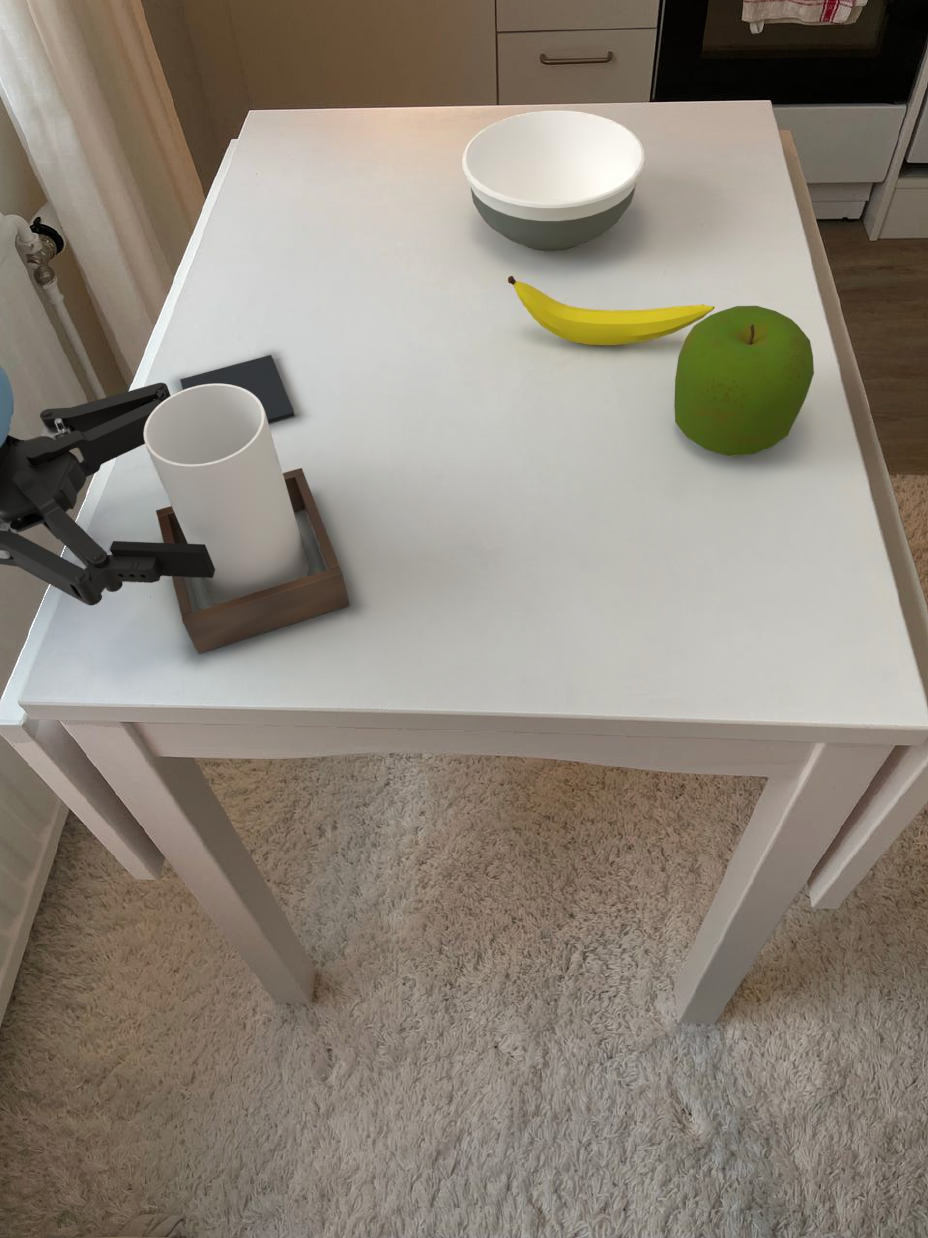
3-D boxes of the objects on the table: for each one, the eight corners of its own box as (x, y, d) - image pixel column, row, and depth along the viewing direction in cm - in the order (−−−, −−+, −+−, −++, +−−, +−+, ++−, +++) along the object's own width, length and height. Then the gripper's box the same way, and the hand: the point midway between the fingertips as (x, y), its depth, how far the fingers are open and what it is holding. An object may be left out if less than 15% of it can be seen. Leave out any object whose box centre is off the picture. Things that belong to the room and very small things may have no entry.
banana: (705, 361, 89) (716, 303, 84) (506, 343, 92) (505, 286, 87) (706, 341, 91) (717, 283, 86) (511, 324, 94) (510, 267, 89)
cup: (317, 537, 79) (277, 384, 66) (296, 616, 74) (249, 469, 61) (221, 532, 80) (163, 381, 67) (194, 611, 75) (126, 464, 62)
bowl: (450, 196, 108) (446, 123, 102) (609, 171, 110) (615, 97, 103) (485, 292, 97) (482, 217, 91) (661, 263, 99) (671, 187, 92)
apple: (773, 486, 80) (804, 383, 71) (650, 449, 83) (666, 347, 74) (808, 403, 85) (841, 299, 77) (692, 372, 89) (711, 269, 80)
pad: (199, 443, 86) (197, 439, 86) (181, 383, 91) (179, 379, 91) (295, 416, 88) (294, 412, 87) (272, 358, 93) (271, 354, 93)
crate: (198, 654, 72) (183, 623, 69) (170, 542, 79) (155, 510, 76) (350, 605, 74) (342, 573, 71) (310, 501, 81) (301, 467, 78)
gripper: (35, 406, 82) (277, 412, 80) (-90, 646, 67) (203, 660, 65) (-4, 333, 76) (257, 337, 74) (-150, 579, 61) (170, 593, 59)
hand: (232, 489), depth 69 cm, fingers open, 13 cm apart
